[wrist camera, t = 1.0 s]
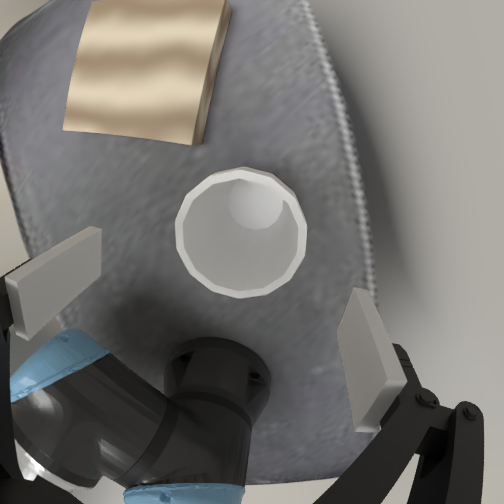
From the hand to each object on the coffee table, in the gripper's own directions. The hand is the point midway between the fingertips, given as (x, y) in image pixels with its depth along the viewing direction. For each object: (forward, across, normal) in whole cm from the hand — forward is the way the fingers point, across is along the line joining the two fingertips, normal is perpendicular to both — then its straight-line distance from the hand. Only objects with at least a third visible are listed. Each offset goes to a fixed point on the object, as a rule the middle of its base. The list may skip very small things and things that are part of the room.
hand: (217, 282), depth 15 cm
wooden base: (+20, +15, -13) cm, 28 cm away
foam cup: (+20, 0, 0) cm, 21 cm away
